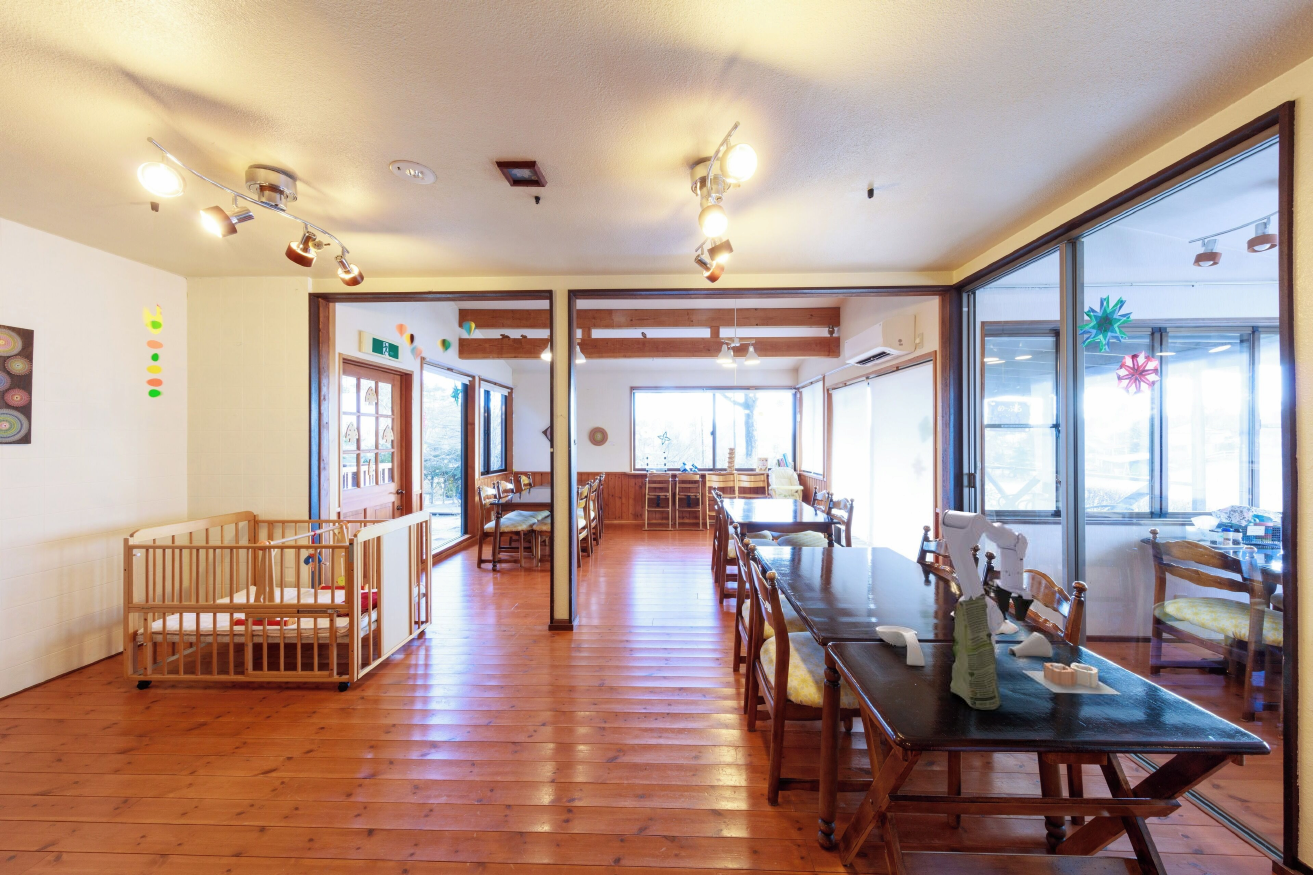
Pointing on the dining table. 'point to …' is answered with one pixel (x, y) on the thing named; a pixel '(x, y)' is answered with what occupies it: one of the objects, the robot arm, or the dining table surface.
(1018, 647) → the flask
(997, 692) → the pouch
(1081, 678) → the gear
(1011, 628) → the figurine
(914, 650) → the spoon rest
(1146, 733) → the dining table surface
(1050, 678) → the gear
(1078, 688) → the gear board
